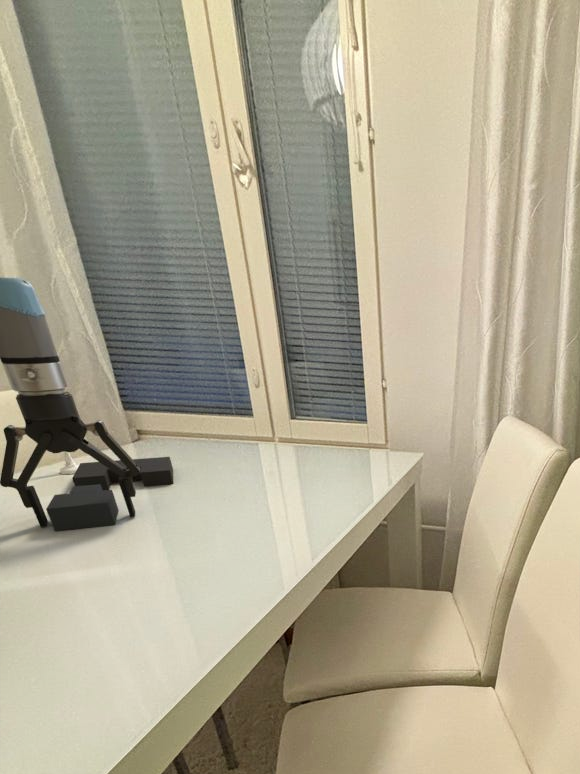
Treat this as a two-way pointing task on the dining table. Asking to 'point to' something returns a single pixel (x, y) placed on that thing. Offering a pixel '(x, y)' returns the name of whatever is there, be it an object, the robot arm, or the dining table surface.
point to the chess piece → (68, 465)
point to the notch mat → (150, 468)
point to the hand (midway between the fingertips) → (90, 519)
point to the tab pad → (83, 508)
